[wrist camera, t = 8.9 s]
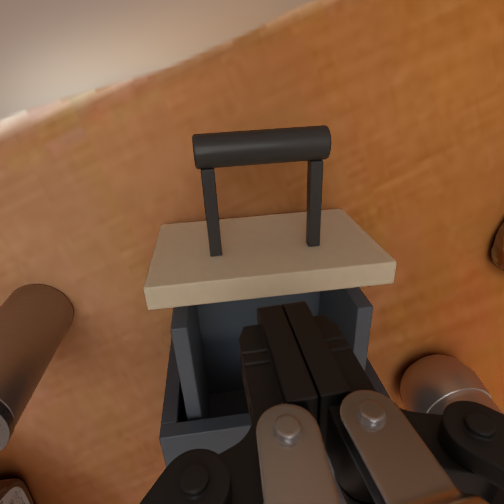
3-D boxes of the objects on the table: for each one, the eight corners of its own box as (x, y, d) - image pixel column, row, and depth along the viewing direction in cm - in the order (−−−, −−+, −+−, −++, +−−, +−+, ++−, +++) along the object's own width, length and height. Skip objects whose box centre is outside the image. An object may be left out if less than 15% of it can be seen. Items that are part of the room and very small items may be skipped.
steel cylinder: (19, 337, 26) (-72, 467, 17) (-3, 286, 24) (-118, 404, 15) (81, 330, 26) (22, 454, 17) (64, 279, 24) (-11, 391, 16)
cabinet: (172, 325, 27) (158, 438, 18) (337, 306, 28) (395, 405, 19) (197, 458, 34) (195, 583, 25) (328, 439, 35) (367, 553, 27)
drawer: (143, 124, 19) (112, 150, 13) (348, 111, 20) (417, 129, 14) (190, 392, 29) (186, 488, 22) (330, 374, 30) (367, 460, 23)
